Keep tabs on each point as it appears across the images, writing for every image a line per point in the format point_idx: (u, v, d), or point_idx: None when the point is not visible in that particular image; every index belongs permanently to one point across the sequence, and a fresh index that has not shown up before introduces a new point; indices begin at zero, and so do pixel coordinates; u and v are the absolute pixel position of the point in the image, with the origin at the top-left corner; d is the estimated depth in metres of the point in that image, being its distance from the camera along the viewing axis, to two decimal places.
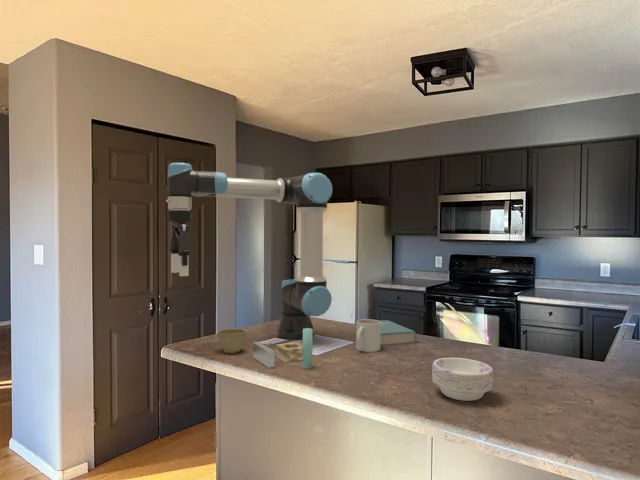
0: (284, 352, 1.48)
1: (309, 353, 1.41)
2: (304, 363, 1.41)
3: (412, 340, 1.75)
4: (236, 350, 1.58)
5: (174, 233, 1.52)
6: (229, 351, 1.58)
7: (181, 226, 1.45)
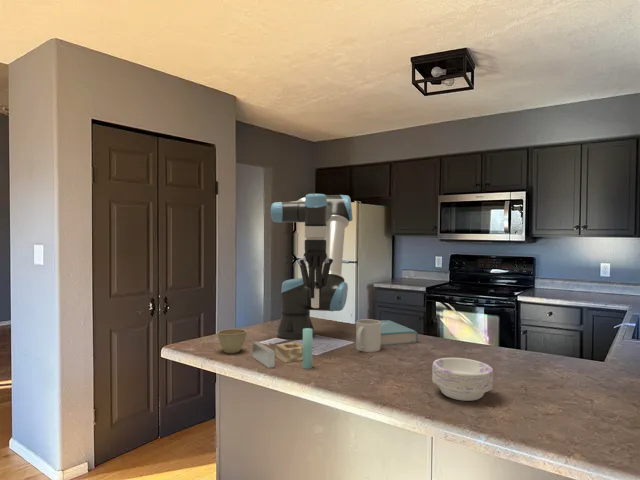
0: (284, 352, 1.48)
1: (309, 353, 1.41)
2: (304, 363, 1.41)
3: (414, 340, 1.76)
4: (236, 350, 1.58)
5: None
6: (229, 351, 1.58)
7: (298, 262, 1.55)
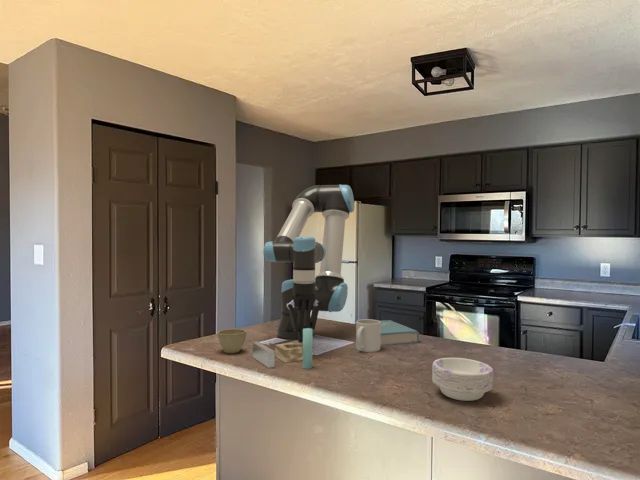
0: (284, 352, 1.48)
1: (309, 353, 1.41)
2: (304, 363, 1.41)
3: (415, 340, 1.76)
4: (236, 350, 1.58)
5: None
6: (229, 351, 1.58)
7: (286, 306, 1.53)
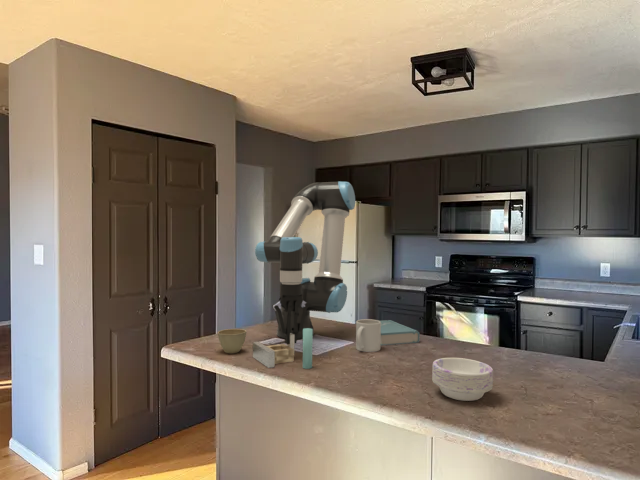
0: None
1: (309, 353, 1.41)
2: (304, 363, 1.41)
3: (415, 340, 1.76)
4: (236, 350, 1.58)
5: None
6: (229, 351, 1.58)
7: (273, 307, 1.50)
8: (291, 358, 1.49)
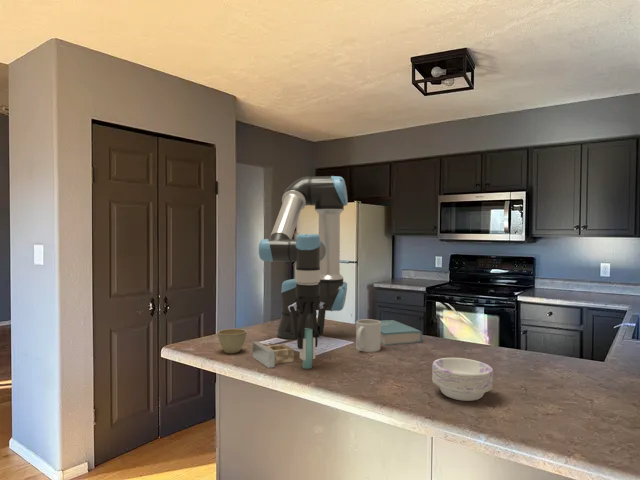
0: None
1: (309, 353, 1.41)
2: (304, 363, 1.41)
3: (418, 340, 1.76)
4: (236, 350, 1.58)
5: None
6: (229, 351, 1.58)
7: (288, 308, 1.40)
8: (291, 358, 1.49)
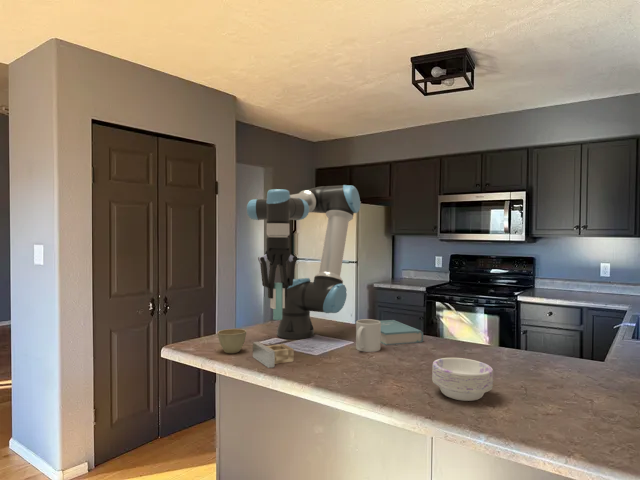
0: None
1: (279, 306, 1.49)
2: (275, 314, 1.49)
3: (419, 339, 1.76)
4: (236, 350, 1.58)
5: None
6: (229, 351, 1.58)
7: (258, 259, 1.48)
8: (291, 358, 1.49)
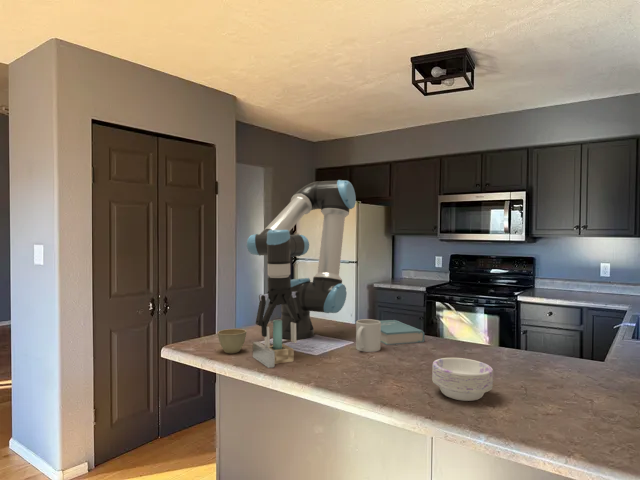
0: None
1: (278, 344, 1.49)
2: None
3: (420, 339, 1.77)
4: (236, 350, 1.58)
5: None
6: (229, 351, 1.58)
7: (259, 297, 1.48)
8: (291, 358, 1.49)
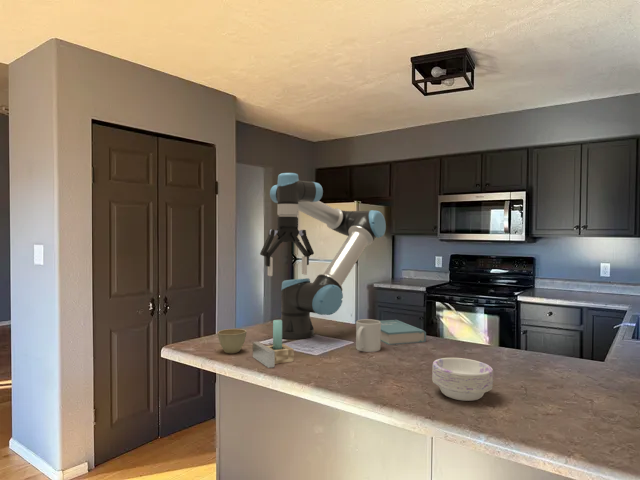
0: None
1: (278, 344, 1.49)
2: None
3: (422, 339, 1.77)
4: (236, 350, 1.58)
5: None
6: (229, 351, 1.58)
7: (269, 231, 1.62)
8: (291, 358, 1.49)
